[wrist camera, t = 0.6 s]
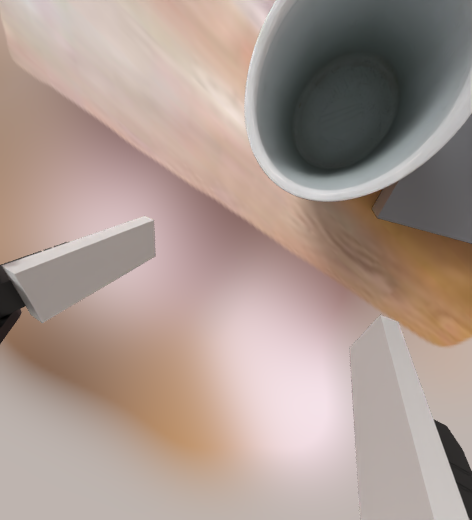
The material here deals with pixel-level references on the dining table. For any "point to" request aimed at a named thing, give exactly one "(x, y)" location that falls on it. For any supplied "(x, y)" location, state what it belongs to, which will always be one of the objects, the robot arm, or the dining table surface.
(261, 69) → the utensil holder
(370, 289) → the dining table surface
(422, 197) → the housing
